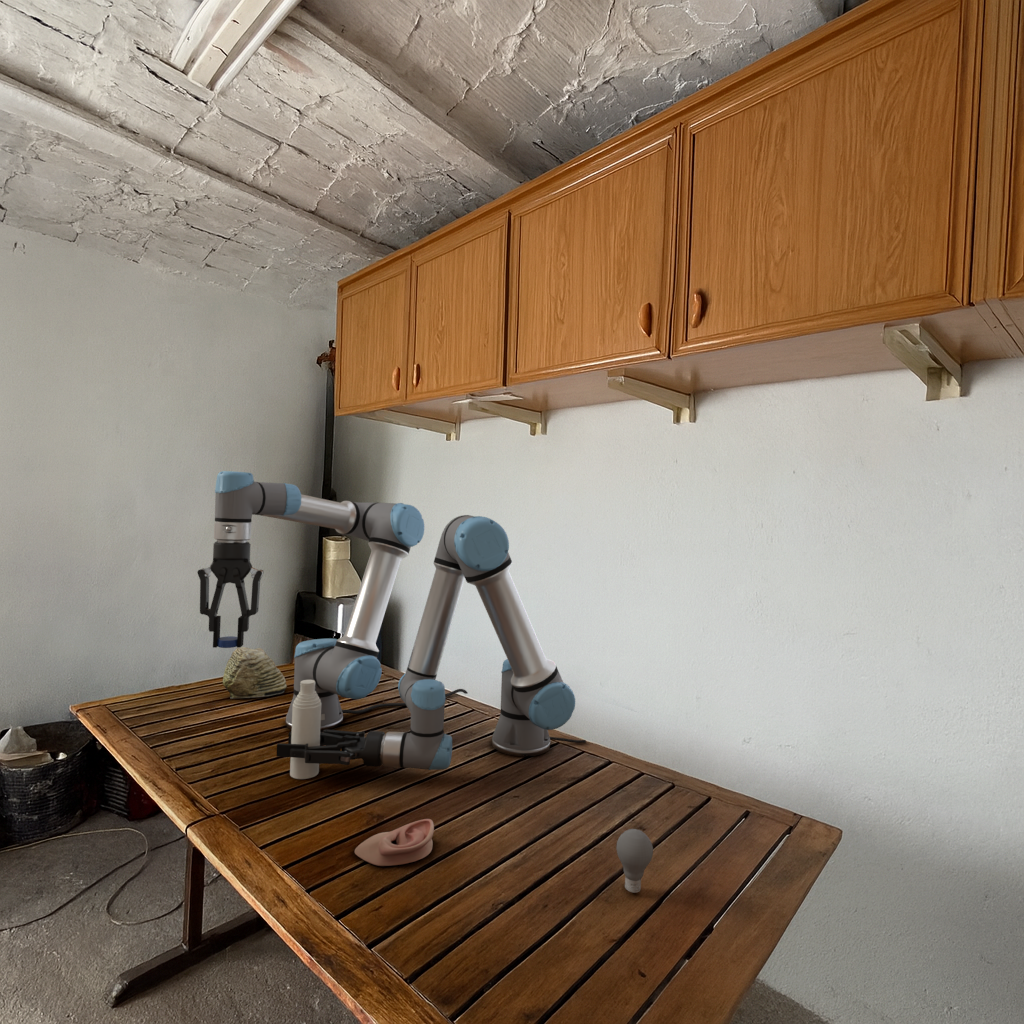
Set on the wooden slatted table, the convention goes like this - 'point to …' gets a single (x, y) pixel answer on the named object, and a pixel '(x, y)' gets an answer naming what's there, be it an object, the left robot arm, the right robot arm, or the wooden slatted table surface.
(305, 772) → the bottle
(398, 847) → the anatomical model
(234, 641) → the cap
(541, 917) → the wooden slatted table surface
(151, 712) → the wooden slatted table surface
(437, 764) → the right robot arm
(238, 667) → the fossil
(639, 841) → the light bulb
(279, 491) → the left robot arm
